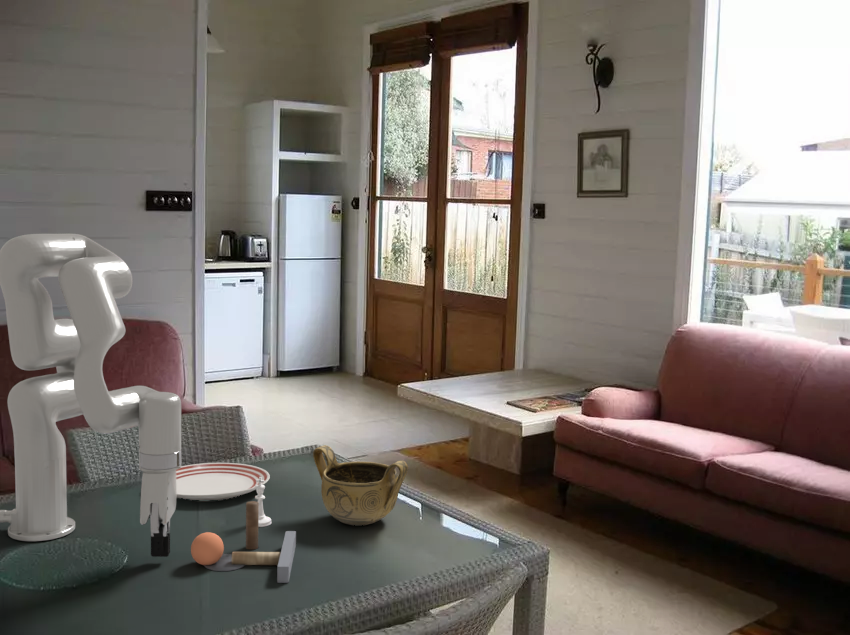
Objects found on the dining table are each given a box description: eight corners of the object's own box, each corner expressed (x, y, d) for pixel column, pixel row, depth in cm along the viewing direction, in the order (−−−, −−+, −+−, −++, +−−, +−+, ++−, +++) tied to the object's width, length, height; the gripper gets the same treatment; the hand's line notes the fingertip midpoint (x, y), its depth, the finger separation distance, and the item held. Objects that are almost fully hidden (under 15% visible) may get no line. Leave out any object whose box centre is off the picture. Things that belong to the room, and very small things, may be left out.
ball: (225, 550, 170) (211, 576, 171) (231, 535, 176) (218, 560, 177) (195, 536, 169) (182, 562, 171) (202, 521, 175) (189, 547, 176)
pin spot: (200, 571, 170) (200, 570, 170) (207, 554, 178) (207, 553, 178) (244, 571, 171) (244, 570, 171) (249, 554, 179) (249, 553, 179)
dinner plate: (124, 492, 215) (124, 478, 214) (214, 466, 237) (214, 454, 237) (206, 517, 199) (206, 502, 199) (293, 488, 222) (293, 474, 221)
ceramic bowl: (293, 522, 198) (294, 453, 196) (337, 500, 213) (339, 437, 211) (383, 543, 187) (385, 470, 185) (423, 519, 202) (425, 452, 200)
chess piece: (266, 528, 194) (267, 481, 192) (244, 525, 195) (244, 479, 193) (275, 520, 198) (275, 475, 197) (253, 518, 199) (253, 472, 198)
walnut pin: (245, 549, 181) (245, 505, 180) (246, 545, 184) (246, 501, 183) (257, 549, 182) (257, 505, 180) (258, 545, 184) (259, 501, 183)
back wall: (277, 582, 166) (277, 566, 166) (285, 545, 184) (285, 531, 184) (288, 582, 166) (288, 566, 166) (295, 545, 184) (295, 531, 184)
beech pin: (231, 557, 172) (280, 558, 173) (233, 548, 175) (281, 549, 175) (231, 567, 173) (280, 567, 174) (233, 558, 176) (281, 559, 176)
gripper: (148, 448, 178) (149, 540, 181) (129, 471, 164) (130, 570, 166) (188, 449, 179) (188, 540, 181) (172, 471, 164) (172, 571, 166)
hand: (160, 554), depth 173 cm, fingers closed
